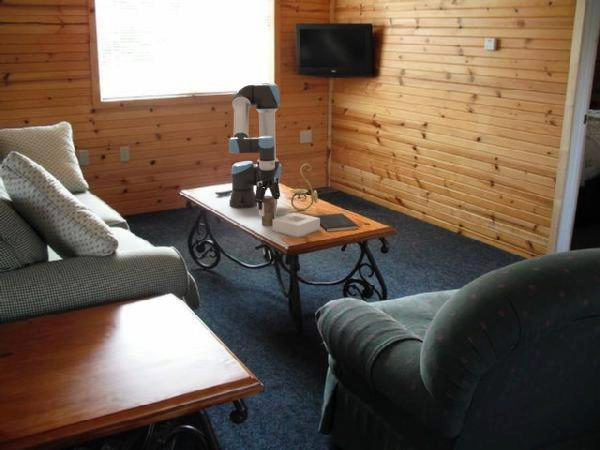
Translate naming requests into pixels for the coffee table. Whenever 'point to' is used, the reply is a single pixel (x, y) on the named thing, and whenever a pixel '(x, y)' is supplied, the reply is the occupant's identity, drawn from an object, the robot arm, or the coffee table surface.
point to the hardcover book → (336, 222)
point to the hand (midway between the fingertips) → (268, 213)
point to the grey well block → (296, 225)
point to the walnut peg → (268, 211)
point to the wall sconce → (304, 191)
